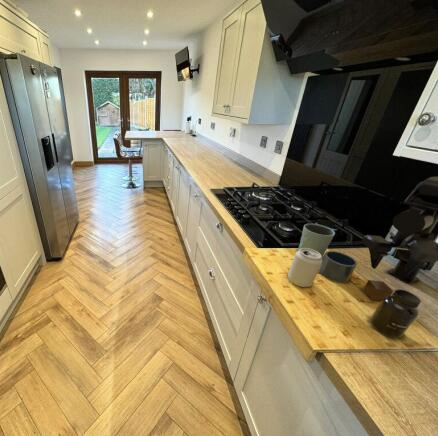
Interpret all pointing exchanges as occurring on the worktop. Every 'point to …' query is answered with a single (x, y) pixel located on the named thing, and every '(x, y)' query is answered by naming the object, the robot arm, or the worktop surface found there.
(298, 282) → the can
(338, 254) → the cup
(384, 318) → the supplement bottle
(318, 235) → the green tapered tumbler
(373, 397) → the worktop surface
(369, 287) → the brown cube
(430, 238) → the robot arm
